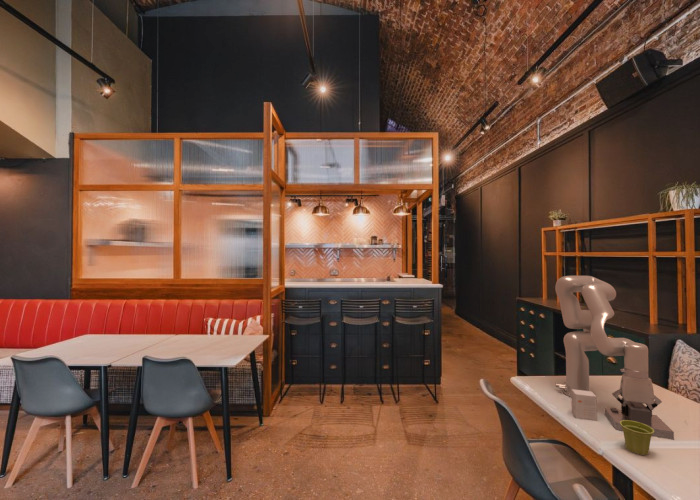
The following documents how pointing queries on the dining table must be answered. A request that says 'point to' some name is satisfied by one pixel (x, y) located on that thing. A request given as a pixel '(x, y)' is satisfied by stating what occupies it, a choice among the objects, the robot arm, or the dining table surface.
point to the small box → (584, 404)
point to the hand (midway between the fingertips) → (636, 416)
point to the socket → (656, 425)
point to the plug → (639, 413)
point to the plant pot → (637, 436)
